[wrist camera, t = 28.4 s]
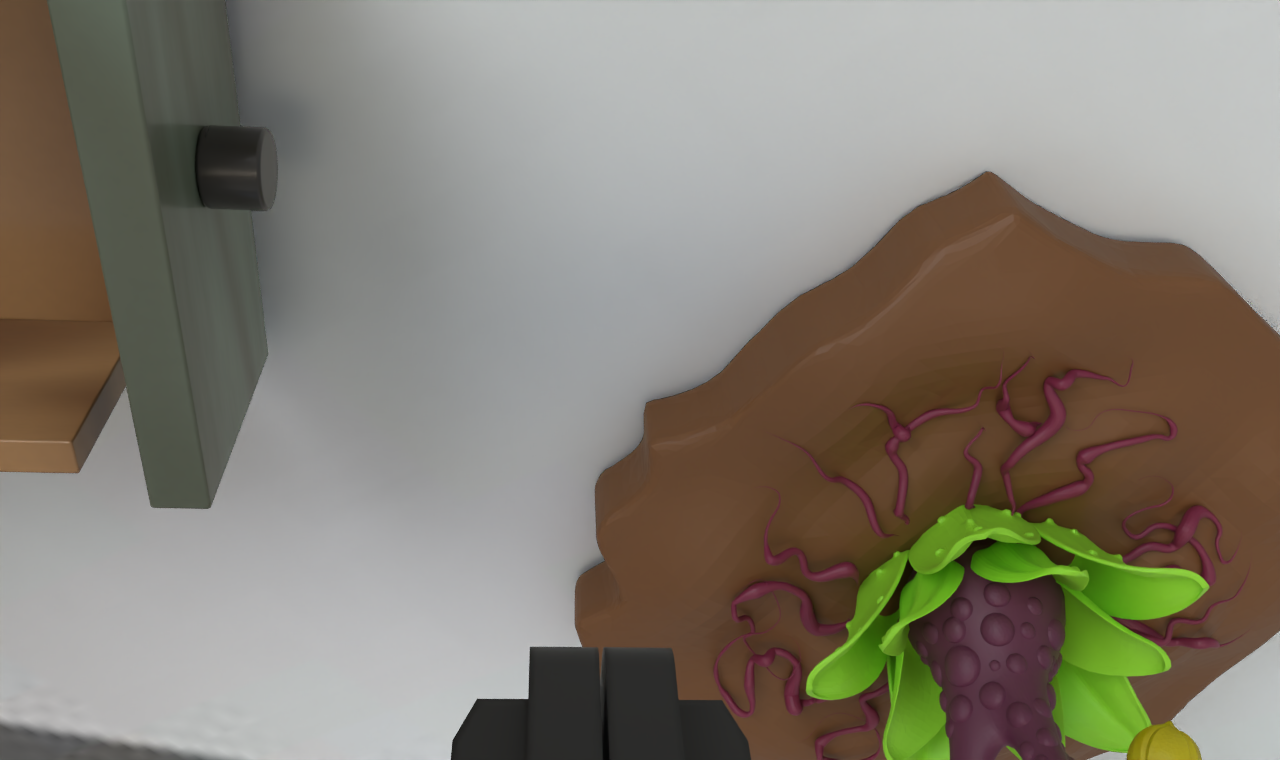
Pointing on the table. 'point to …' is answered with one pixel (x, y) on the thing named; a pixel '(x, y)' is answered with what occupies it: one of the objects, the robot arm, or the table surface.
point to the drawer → (127, 238)
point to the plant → (961, 500)
